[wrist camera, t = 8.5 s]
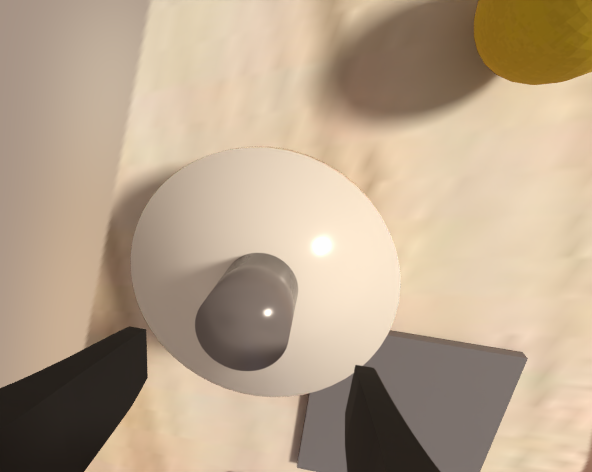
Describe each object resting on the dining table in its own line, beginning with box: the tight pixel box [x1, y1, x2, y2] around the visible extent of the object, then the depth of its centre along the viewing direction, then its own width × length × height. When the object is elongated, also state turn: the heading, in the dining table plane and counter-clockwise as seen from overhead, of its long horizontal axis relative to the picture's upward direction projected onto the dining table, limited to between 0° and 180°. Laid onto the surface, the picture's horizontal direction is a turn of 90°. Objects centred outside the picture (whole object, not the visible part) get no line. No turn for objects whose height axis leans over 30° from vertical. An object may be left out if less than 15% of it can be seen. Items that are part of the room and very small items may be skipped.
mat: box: [297, 331, 528, 472], centre depth 24 cm, size 13×13×1 cm
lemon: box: [474, 0, 592, 85], centre depth 12 cm, size 6×6×8 cm
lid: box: [130, 147, 401, 397], centre depth 15 cm, size 13×13×4 cm
